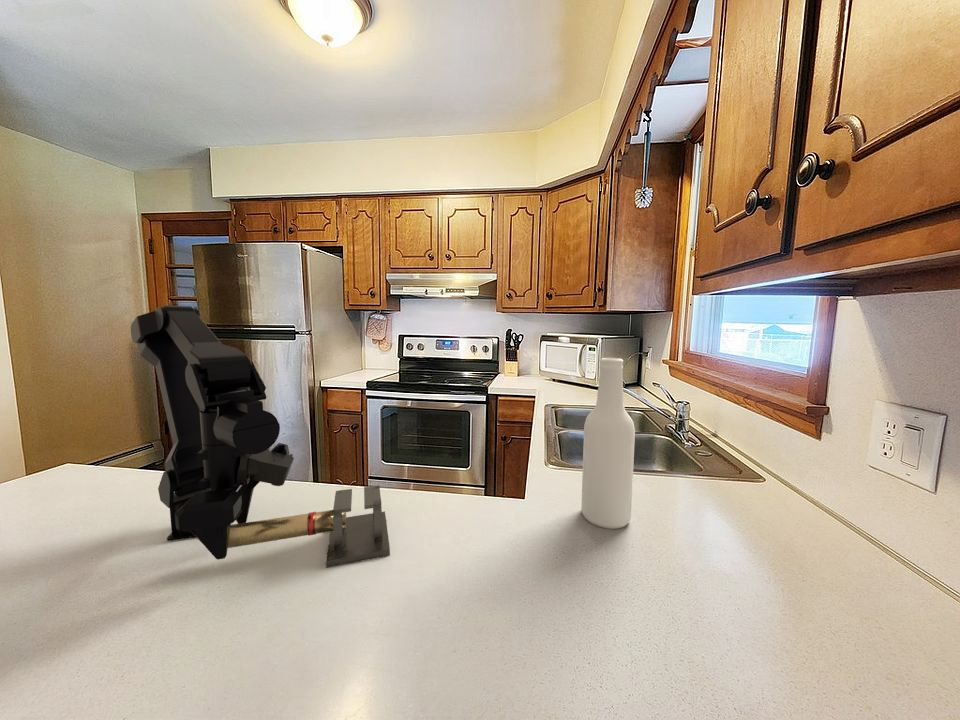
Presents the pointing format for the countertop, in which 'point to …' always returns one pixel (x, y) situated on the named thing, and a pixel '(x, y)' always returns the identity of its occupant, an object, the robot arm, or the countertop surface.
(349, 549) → the grey slotted stand
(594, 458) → the alcohol
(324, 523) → the tube
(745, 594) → the countertop surface
